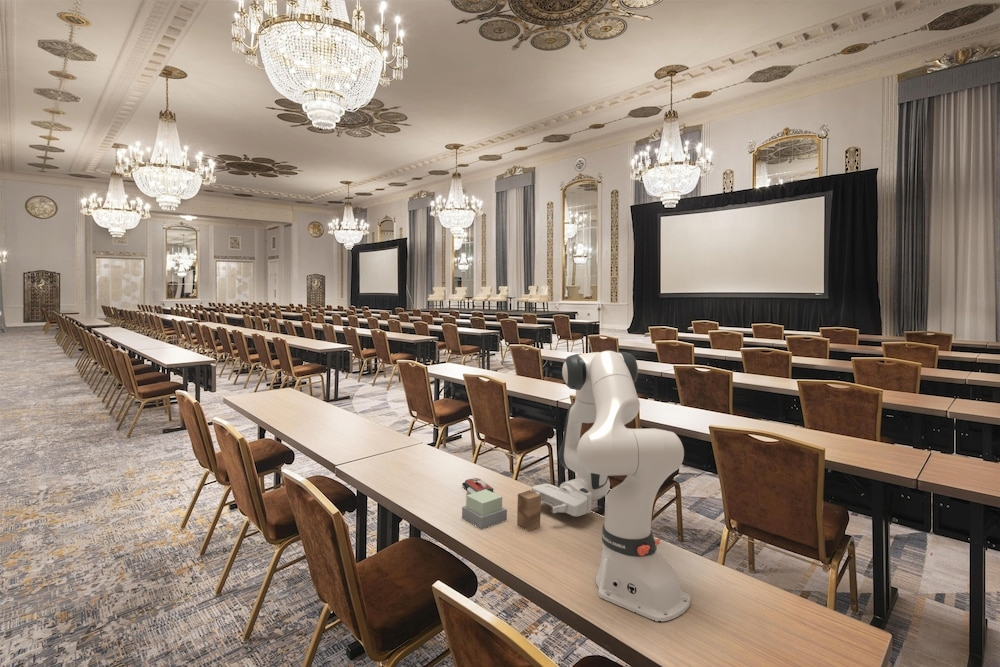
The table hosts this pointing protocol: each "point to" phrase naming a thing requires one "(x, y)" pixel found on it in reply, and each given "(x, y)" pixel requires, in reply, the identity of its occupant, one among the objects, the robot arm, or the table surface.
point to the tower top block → (484, 502)
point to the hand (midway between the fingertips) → (541, 505)
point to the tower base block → (484, 517)
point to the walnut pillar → (529, 510)
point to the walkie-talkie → (476, 486)
